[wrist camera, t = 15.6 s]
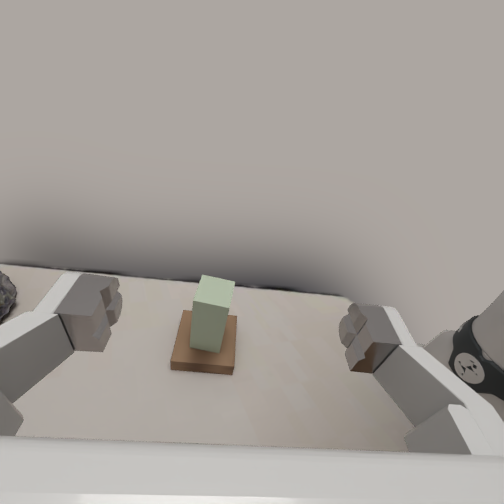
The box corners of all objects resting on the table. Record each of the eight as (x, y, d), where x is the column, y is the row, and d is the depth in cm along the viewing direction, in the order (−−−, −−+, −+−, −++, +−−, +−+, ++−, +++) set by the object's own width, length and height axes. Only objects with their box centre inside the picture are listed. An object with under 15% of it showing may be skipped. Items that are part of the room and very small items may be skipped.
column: (224, 327, 43) (235, 281, 36) (219, 353, 40) (229, 308, 33) (197, 321, 43) (202, 274, 36) (189, 347, 40) (193, 300, 32)
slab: (234, 326, 47) (236, 315, 46) (231, 376, 40) (234, 366, 39) (183, 321, 46) (183, 310, 45) (171, 371, 39) (170, 360, 38)
